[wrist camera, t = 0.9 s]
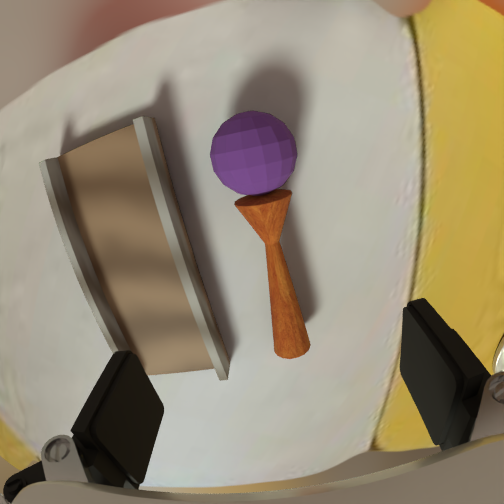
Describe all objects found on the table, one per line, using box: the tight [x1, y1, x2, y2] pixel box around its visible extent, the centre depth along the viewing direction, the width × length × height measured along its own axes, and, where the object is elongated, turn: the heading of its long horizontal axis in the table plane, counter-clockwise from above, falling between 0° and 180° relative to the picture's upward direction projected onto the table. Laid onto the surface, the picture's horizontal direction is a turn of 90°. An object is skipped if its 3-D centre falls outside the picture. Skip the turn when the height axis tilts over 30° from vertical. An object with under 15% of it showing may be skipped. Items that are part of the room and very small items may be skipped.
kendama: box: [210, 111, 310, 359], centre depth 24 cm, size 6×6×20 cm
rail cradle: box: [39, 116, 230, 381], centre depth 26 cm, size 24×11×3 cm, turn 14°
